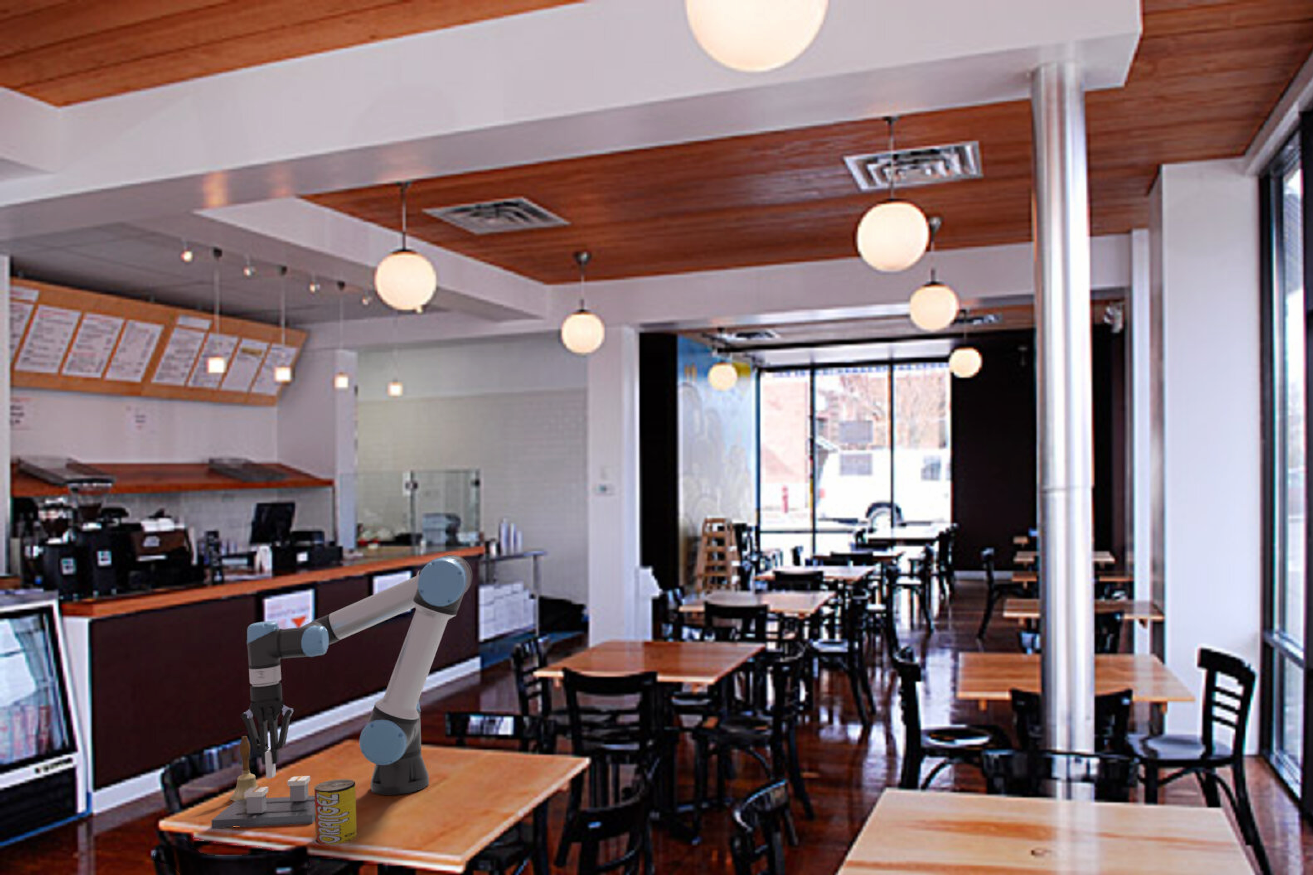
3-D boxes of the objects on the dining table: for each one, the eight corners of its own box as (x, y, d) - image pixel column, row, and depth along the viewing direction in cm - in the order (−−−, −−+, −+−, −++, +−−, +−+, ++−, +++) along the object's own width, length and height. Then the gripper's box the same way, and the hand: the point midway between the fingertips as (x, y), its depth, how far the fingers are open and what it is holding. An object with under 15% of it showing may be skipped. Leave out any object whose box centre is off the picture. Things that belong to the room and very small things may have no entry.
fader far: (310, 796, 258) (310, 774, 259) (305, 801, 254) (305, 779, 255) (293, 797, 258) (292, 775, 259) (288, 802, 254) (287, 780, 255)
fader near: (268, 807, 250) (268, 785, 250) (262, 813, 246) (262, 790, 247) (250, 808, 250) (250, 786, 250) (244, 814, 246) (244, 791, 246)
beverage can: (315, 834, 236) (313, 782, 237) (355, 828, 240) (353, 777, 240) (316, 847, 228) (315, 793, 228) (358, 840, 231) (356, 787, 232)
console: (331, 802, 260) (331, 794, 261) (312, 823, 244) (311, 814, 245) (237, 807, 260) (237, 798, 260) (211, 828, 244) (211, 819, 244)
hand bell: (251, 802, 264) (250, 740, 265) (223, 801, 266) (221, 739, 266) (269, 792, 272) (268, 732, 273) (242, 791, 274) (240, 732, 274)
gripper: (234, 688, 255) (239, 783, 254) (286, 684, 255) (292, 778, 254) (245, 682, 262) (250, 774, 261) (296, 678, 263) (301, 770, 262)
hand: (271, 776), depth 258 cm, fingers closed
